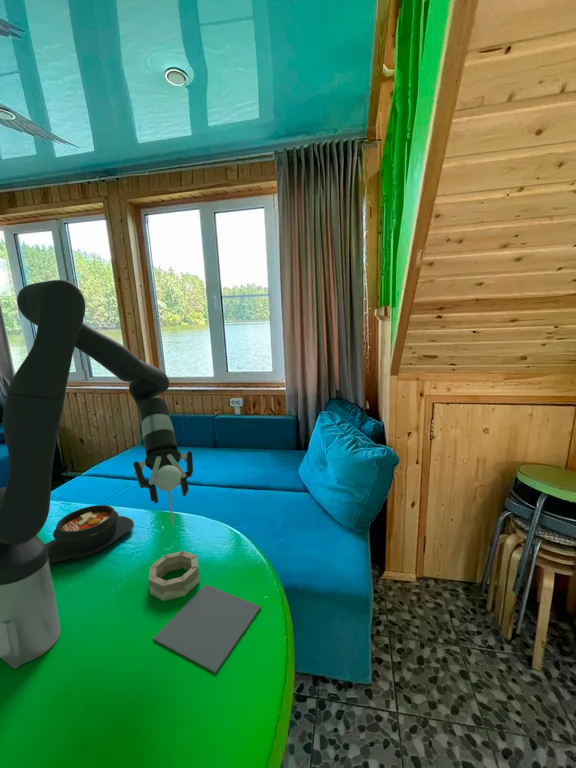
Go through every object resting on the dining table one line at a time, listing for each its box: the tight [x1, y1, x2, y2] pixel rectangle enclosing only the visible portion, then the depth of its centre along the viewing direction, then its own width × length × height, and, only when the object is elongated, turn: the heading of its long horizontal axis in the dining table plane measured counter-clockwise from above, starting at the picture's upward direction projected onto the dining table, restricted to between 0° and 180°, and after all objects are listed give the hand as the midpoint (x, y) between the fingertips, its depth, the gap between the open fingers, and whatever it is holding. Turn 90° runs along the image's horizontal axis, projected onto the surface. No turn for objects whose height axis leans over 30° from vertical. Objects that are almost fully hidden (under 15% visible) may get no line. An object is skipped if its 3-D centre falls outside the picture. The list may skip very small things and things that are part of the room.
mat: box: [152, 583, 262, 675], centre depth 71 cm, size 16×16×1 cm
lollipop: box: [154, 465, 182, 527], centre depth 79 cm, size 6×6×15 cm
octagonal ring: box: [148, 550, 200, 602], centre depth 83 cm, size 12×11×4 cm
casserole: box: [44, 504, 135, 564], centre depth 100 cm, size 25×19×8 cm
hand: (170, 498), depth 77 cm, fingers closed on lollipop, 5 cm apart
